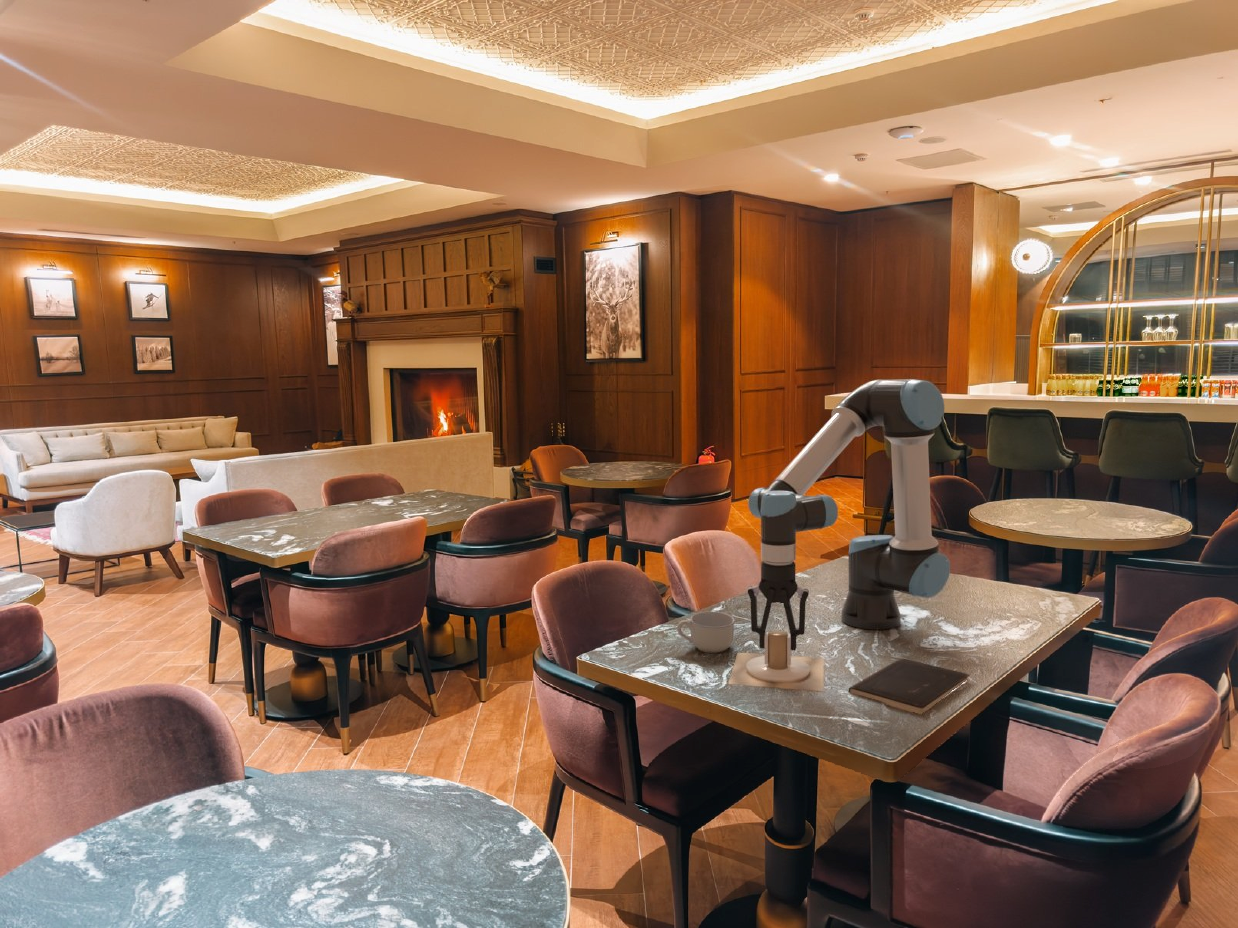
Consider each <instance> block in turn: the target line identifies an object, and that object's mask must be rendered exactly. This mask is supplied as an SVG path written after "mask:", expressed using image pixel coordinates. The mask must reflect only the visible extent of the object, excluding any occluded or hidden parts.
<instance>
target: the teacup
mask: <svg viewBox="0 0 1238 928" xmlns="http://www.w3.org/2000/svg"><path fill="white" fill-rule="evenodd" d="M689 619H690V620H688V619H681V620H680V621H679V622H678V623H677V626H676V631H677V634H678V635H679V636H681V637H682V638H683V639H685V640H687V641H688V642H689V643H690V644H692V645H694V647H696V648H697V649H698V651H701V652H703V653H709V654H710V653H713V654H714V653H715V654H717V653H721V652H724V651H726V650H727V649H728V648H730V647H731V646H732V644H733V642H734V634H735V631H734V630H735V621H736V620H735V618H734V617H733V616H732V615H730V614H728V613H724V612H719V611H709V610H707V611H701V612H696V613H694V614H692V615H691V617H690V618H689ZM684 625H687V626H688V629H689V631H690V635H687V634H686V633H684V632H683V631H682V627H683V626H684Z"/></svg>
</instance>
